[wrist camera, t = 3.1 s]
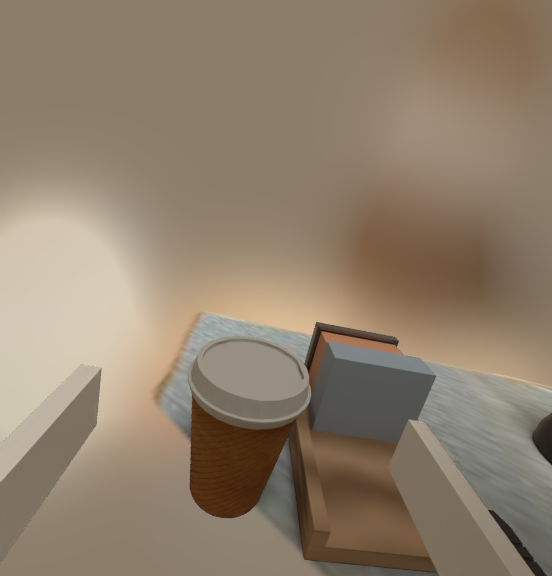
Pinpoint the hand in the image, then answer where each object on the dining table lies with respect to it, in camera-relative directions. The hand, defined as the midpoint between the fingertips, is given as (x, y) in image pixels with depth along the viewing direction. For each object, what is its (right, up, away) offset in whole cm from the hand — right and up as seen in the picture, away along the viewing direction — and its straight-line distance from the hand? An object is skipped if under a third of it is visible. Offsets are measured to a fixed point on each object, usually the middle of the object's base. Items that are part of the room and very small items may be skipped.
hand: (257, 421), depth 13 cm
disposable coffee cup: (-4, -11, +14) cm, 18 cm away
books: (+10, -10, +25) cm, 28 cm away
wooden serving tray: (+10, -12, +21) cm, 26 cm away
